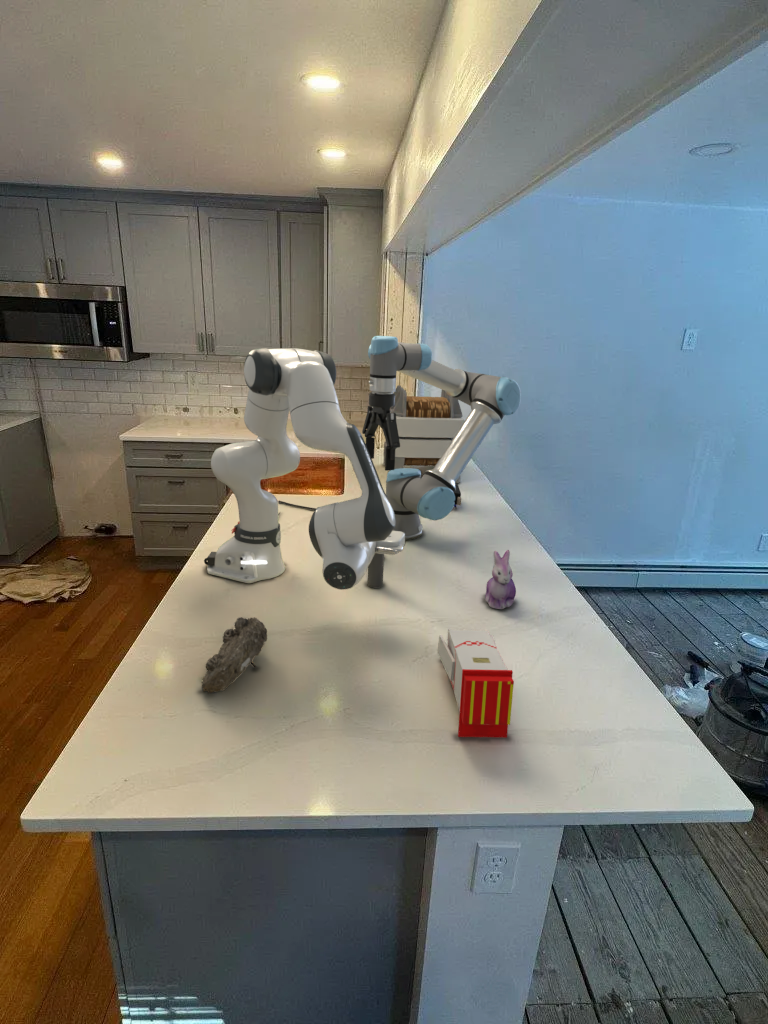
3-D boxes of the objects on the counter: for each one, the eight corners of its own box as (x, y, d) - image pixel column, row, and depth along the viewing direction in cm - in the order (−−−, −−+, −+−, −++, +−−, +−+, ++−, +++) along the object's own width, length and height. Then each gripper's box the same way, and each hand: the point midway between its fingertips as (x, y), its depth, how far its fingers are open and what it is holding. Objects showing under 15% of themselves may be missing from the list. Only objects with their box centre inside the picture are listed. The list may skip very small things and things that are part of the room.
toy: (488, 613, 130) (523, 677, 101) (484, 667, 133) (517, 744, 104) (435, 612, 130) (455, 676, 101) (432, 666, 133) (451, 743, 103)
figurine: (497, 613, 149) (504, 562, 144) (474, 596, 158) (480, 547, 153) (525, 606, 154) (532, 556, 149) (501, 590, 162) (508, 542, 157)
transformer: (382, 463, 289) (386, 382, 275) (445, 464, 293) (451, 384, 279) (390, 482, 257) (394, 392, 243) (460, 483, 261) (468, 394, 247)
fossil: (219, 620, 133) (266, 590, 128) (247, 647, 136) (294, 619, 131) (181, 686, 113) (234, 654, 108) (214, 717, 116) (267, 687, 111)
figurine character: (461, 514, 225) (456, 498, 239) (463, 497, 222) (458, 482, 235) (444, 513, 225) (440, 498, 239) (446, 496, 222) (442, 481, 235)
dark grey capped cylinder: (386, 584, 163) (389, 518, 156) (376, 589, 160) (378, 522, 153) (374, 579, 166) (376, 514, 159) (364, 584, 162) (366, 518, 156)
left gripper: (401, 540, 130) (410, 519, 142) (315, 530, 133) (331, 511, 146) (400, 565, 132) (408, 543, 145) (315, 555, 135) (331, 534, 148)
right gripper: (352, 386, 171) (351, 455, 178) (390, 399, 150) (386, 476, 158) (375, 386, 174) (372, 453, 182) (415, 398, 154) (410, 474, 161)
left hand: (369, 527), depth 145 cm, fingers open, 8 cm apart
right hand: (379, 464), depth 170 cm, fingers open, 13 cm apart
